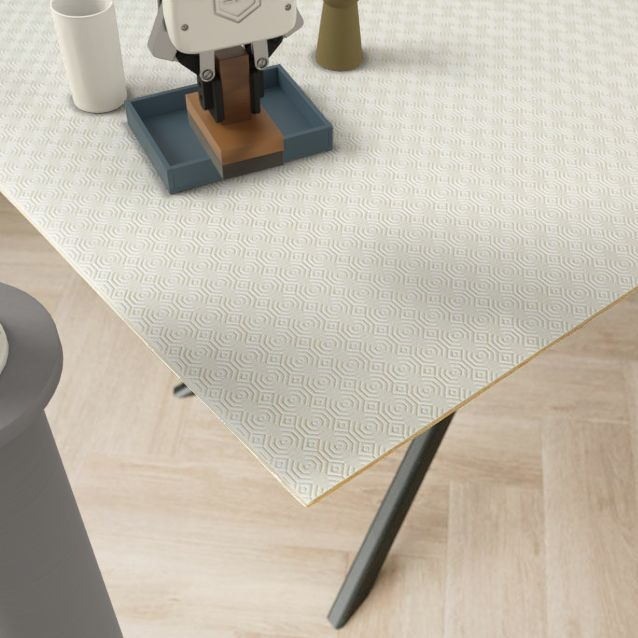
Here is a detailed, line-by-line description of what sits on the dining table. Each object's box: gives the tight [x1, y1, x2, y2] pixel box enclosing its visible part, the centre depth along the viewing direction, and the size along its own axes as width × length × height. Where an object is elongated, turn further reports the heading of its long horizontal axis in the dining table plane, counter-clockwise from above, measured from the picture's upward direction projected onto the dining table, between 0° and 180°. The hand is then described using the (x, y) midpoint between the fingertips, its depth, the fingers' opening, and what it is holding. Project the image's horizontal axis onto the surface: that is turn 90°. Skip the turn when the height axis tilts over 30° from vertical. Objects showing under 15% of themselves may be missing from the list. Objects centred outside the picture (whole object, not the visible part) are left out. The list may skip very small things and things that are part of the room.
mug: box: [49, 0, 128, 114], centre depth 104 cm, size 10×7×12 cm, turn 32°
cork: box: [314, 0, 364, 72], centre depth 111 cm, size 6×6×11 cm
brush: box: [185, 45, 285, 181], centre depth 76 cm, size 6×9×9 cm, turn 26°
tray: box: [123, 63, 334, 195], centre depth 102 cm, size 19×14×3 cm
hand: (232, 108), depth 77 cm, fingers closed on brush, 2 cm apart
